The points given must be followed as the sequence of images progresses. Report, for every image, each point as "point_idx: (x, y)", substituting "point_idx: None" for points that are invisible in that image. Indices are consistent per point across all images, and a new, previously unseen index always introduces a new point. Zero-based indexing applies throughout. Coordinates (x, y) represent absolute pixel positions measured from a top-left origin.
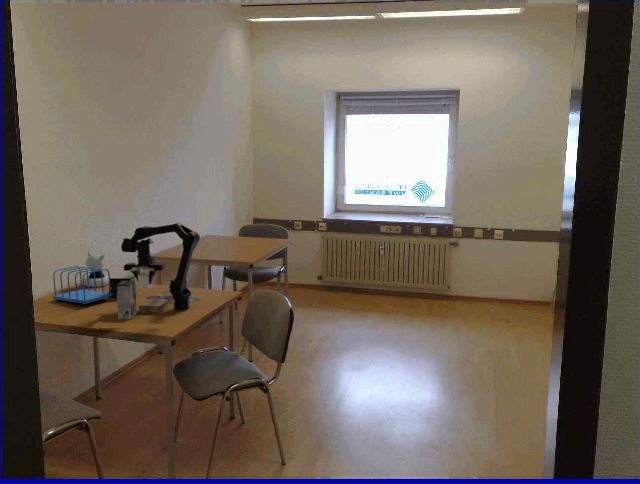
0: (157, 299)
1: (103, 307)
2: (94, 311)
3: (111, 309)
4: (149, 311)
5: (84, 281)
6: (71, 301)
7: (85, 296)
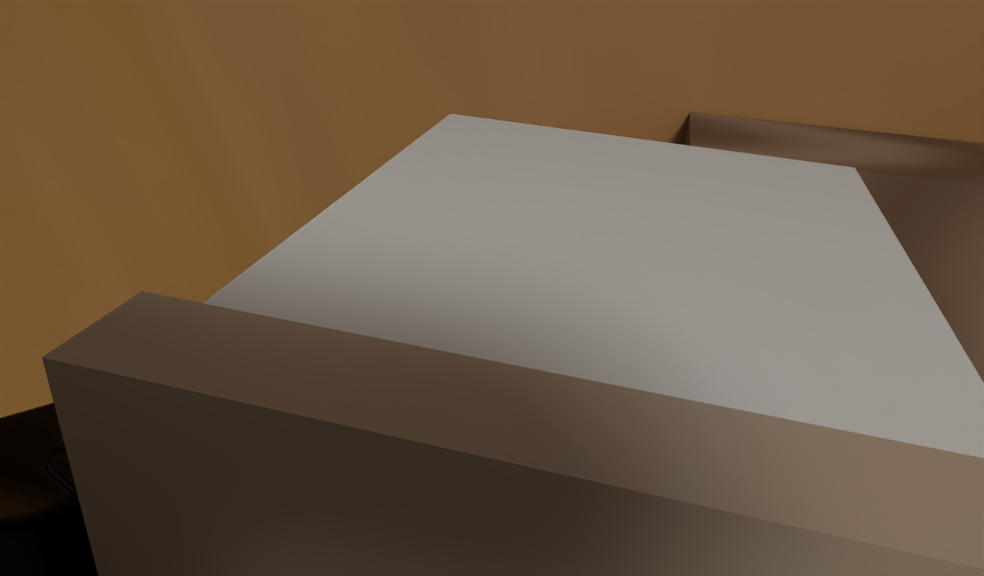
0: (930, 206)
1: (22, 168)
2: (41, 352)
3: (180, 283)
4: None
5: None
6: None
7: None
